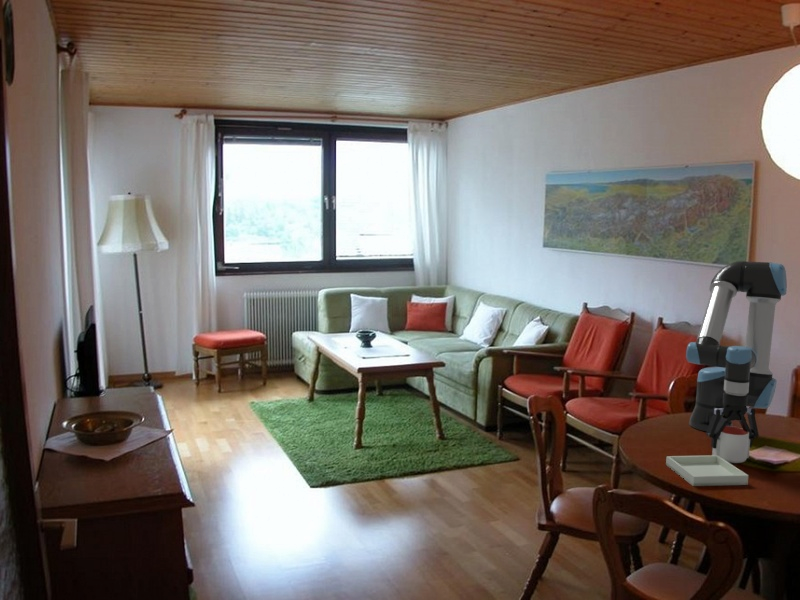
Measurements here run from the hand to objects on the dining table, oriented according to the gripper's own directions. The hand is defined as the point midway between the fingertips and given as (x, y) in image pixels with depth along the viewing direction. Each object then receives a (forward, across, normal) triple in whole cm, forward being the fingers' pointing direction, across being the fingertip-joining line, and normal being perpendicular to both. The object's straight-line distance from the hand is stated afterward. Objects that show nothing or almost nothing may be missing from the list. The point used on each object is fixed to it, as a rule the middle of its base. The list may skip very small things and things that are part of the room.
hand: (730, 456), depth 241 cm
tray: (+1, +16, +13) cm, 21 cm away
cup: (+1, 0, 0) cm, 1 cm away
